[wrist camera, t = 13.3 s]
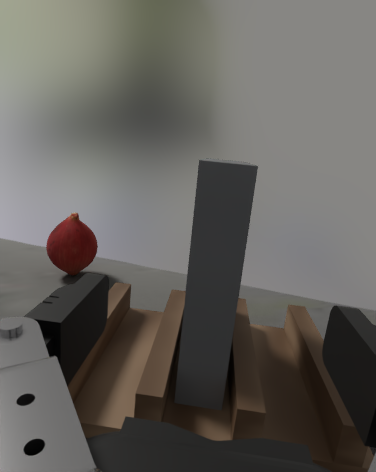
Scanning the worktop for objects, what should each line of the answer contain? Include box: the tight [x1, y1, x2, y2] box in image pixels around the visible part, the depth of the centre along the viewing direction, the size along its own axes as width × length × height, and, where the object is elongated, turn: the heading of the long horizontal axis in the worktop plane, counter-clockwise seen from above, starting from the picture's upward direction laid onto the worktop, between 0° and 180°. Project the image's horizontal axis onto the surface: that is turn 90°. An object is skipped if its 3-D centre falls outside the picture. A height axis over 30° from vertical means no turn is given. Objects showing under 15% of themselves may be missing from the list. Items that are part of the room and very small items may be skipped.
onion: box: [46, 213, 98, 275], centre depth 40 cm, size 6×6×8 cm
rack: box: [68, 282, 374, 472], centre depth 25 cm, size 20×15×4 cm
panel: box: [174, 158, 258, 410], centre depth 23 cm, size 3×9×15 cm, turn 174°
